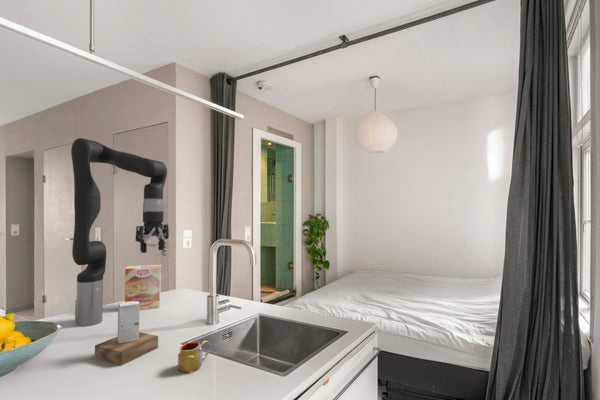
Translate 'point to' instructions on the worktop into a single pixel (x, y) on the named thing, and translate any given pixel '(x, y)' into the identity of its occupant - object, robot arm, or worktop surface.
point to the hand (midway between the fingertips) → (152, 251)
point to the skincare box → (128, 321)
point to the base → (125, 349)
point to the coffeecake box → (143, 285)
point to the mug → (192, 356)
